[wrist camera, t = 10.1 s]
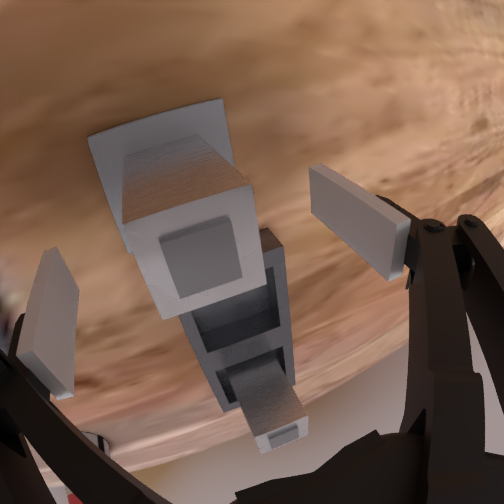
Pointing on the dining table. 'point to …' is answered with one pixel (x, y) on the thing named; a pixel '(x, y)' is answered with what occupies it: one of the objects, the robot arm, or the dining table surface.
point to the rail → (244, 326)
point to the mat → (155, 144)
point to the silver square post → (268, 402)
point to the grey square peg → (190, 225)
